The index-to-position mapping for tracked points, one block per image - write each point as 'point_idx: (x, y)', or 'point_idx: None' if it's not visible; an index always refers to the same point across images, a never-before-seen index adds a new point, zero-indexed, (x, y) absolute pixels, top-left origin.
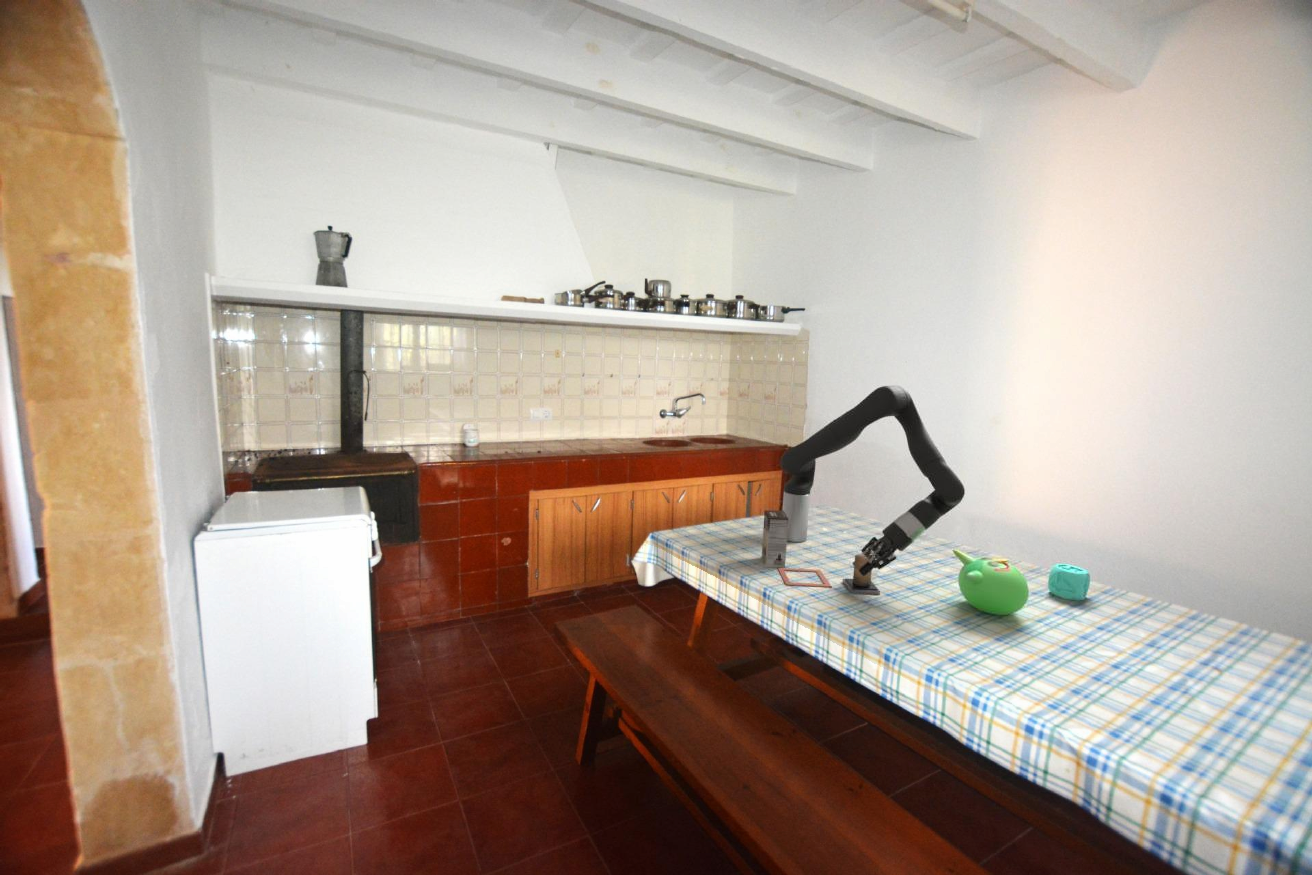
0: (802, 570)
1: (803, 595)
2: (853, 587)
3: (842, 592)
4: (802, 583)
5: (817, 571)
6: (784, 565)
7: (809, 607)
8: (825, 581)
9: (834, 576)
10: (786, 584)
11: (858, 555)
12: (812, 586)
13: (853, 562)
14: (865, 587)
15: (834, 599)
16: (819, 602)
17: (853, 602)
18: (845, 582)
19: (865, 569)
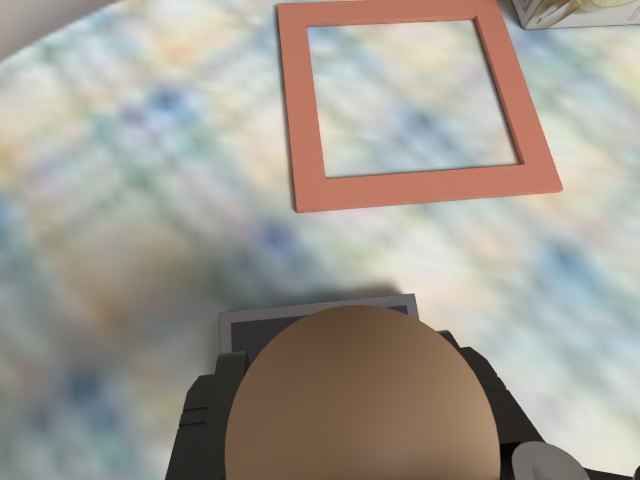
0: (505, 95)
1: (158, 61)
2: (244, 331)
3: (227, 263)
4: (306, 71)
5: (524, 170)
6: (527, 16)
7: (8, 65)
8: (370, 189)
9: (492, 263)
10: (277, 5)
11: (417, 365)
12: (288, 116)
13: (443, 336)
14: None
15: (114, 198)
16: (70, 117)
17: (72, 300)
18: (353, 299)
19: (181, 419)
